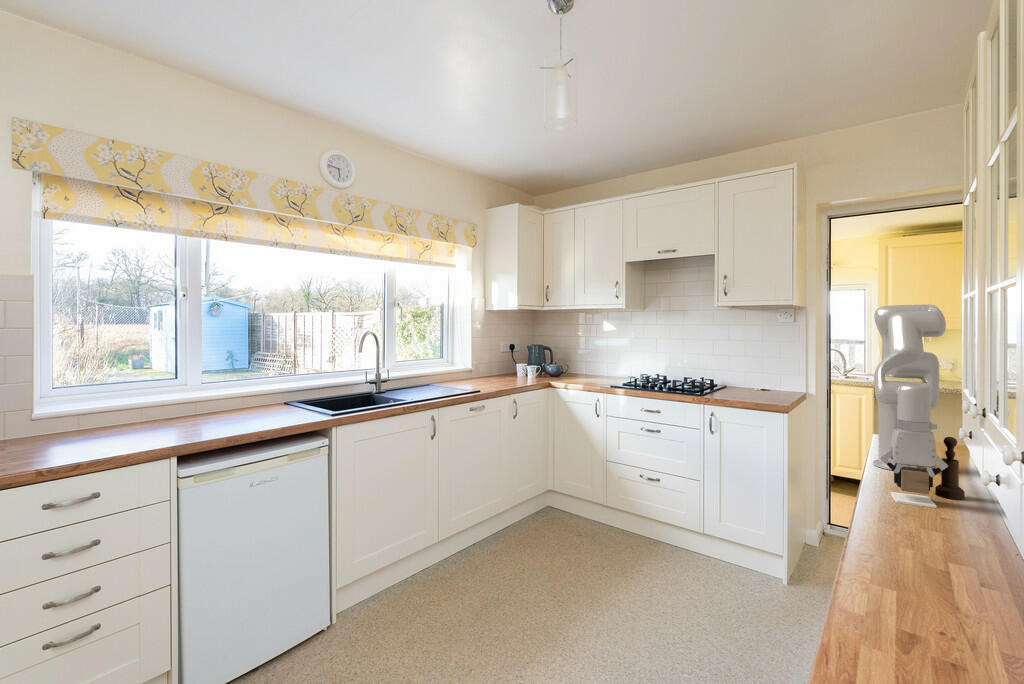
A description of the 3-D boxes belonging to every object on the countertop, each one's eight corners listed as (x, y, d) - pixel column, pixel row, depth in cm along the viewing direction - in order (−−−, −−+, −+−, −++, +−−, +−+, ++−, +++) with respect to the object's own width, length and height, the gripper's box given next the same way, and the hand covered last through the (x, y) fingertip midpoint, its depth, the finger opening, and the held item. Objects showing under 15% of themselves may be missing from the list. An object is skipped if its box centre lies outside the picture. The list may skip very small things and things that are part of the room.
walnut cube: (898, 485, 146) (898, 465, 146) (923, 488, 143) (923, 468, 143) (902, 491, 141) (902, 470, 141) (928, 494, 138) (929, 473, 138)
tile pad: (890, 493, 149) (890, 491, 149) (928, 498, 144) (928, 496, 144) (896, 502, 141) (896, 500, 141) (936, 508, 137) (936, 506, 136)
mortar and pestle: (952, 493, 149) (953, 435, 149) (970, 500, 143) (971, 439, 142) (929, 492, 150) (930, 434, 149) (946, 499, 143) (947, 439, 143)
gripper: (948, 427, 141) (947, 488, 141) (875, 422, 150) (874, 480, 150) (956, 431, 135) (955, 496, 135) (879, 425, 143) (878, 486, 143)
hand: (912, 487), depth 142 cm, fingers closed on walnut cube, 6 cm apart
